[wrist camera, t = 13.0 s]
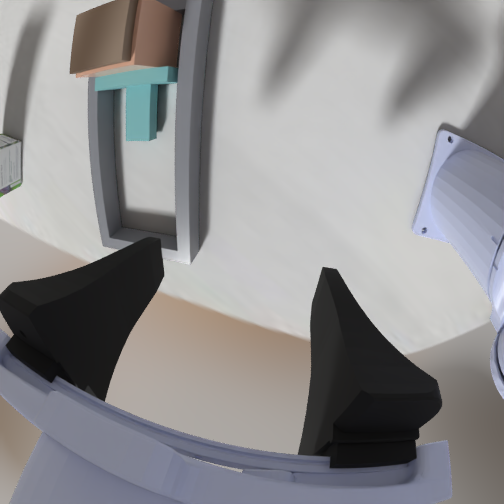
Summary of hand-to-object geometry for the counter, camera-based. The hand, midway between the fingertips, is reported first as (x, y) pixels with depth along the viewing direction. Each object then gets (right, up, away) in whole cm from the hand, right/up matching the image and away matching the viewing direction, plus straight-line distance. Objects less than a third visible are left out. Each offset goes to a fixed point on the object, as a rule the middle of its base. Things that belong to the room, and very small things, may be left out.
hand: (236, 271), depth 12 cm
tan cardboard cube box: (-6, +15, +2) cm, 17 cm away
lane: (-7, +10, +5) cm, 13 cm away
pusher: (-7, +11, +4) cm, 14 cm away
